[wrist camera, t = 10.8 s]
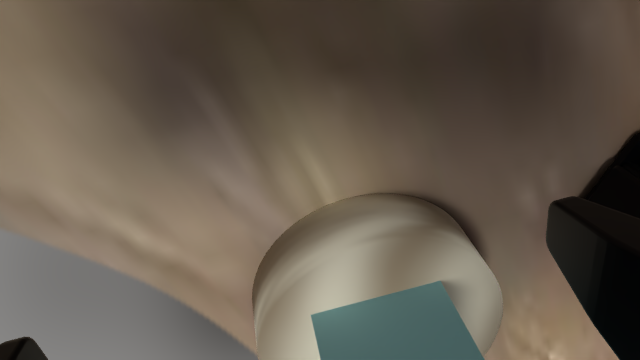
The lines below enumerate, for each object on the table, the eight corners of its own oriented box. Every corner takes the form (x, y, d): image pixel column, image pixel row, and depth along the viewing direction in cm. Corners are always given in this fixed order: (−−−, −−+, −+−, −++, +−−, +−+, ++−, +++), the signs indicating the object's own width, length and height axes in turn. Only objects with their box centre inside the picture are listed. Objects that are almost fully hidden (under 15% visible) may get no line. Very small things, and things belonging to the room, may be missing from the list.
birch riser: (504, 208, 27) (547, 257, 23) (418, 364, 32) (442, 421, 29) (285, 170, 23) (298, 221, 20) (229, 352, 28) (232, 417, 25)
